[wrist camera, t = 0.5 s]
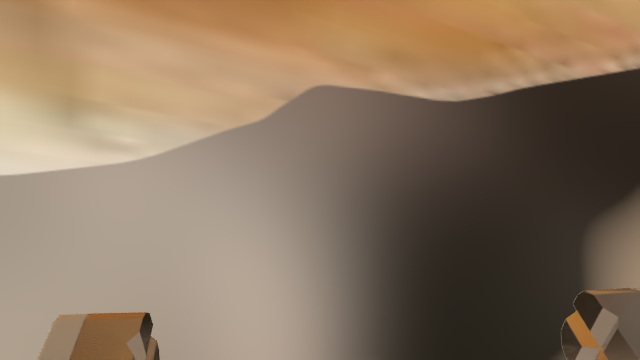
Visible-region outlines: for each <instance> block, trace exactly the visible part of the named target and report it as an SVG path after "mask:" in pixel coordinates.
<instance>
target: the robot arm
mask: <svg viewBox="0 0 640 360" xmlns="http://www.w3.org/2000/svg"><path fill="white" fill-rule="evenodd" d="M573 305H574V307H575V309H576V312H575V313H574V314H572V315H571V316H569V317H568V318H567V319H566V320H565V322H564V325H563V327H562V330H561V344H562V348H563V351H564V354H565V356H566V358H567V360H640V288H633V289H631V288H622V289H606V290H590V291H583V292H581V293H580V294H578V295H577V297H576V299H575V301H574V303H573ZM152 328H153V323H152V320H151V316H150V313H104V314H103V313H102V314H101V313H100V314H75V315H60V316H59V317H58V318H57V319H56V320H55V321H54V322H53V324H52V326H51V328H50V331H49V333H48V335H47V338H46V340H45V342H44V345H43V347H42V349H41V352H40V354H39V356H38V359H37V360H160V358H159V357H160V356H159V348H158V343H157V341H156V340H155V339H154V338H152V337H151V332H152Z"/></svg>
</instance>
